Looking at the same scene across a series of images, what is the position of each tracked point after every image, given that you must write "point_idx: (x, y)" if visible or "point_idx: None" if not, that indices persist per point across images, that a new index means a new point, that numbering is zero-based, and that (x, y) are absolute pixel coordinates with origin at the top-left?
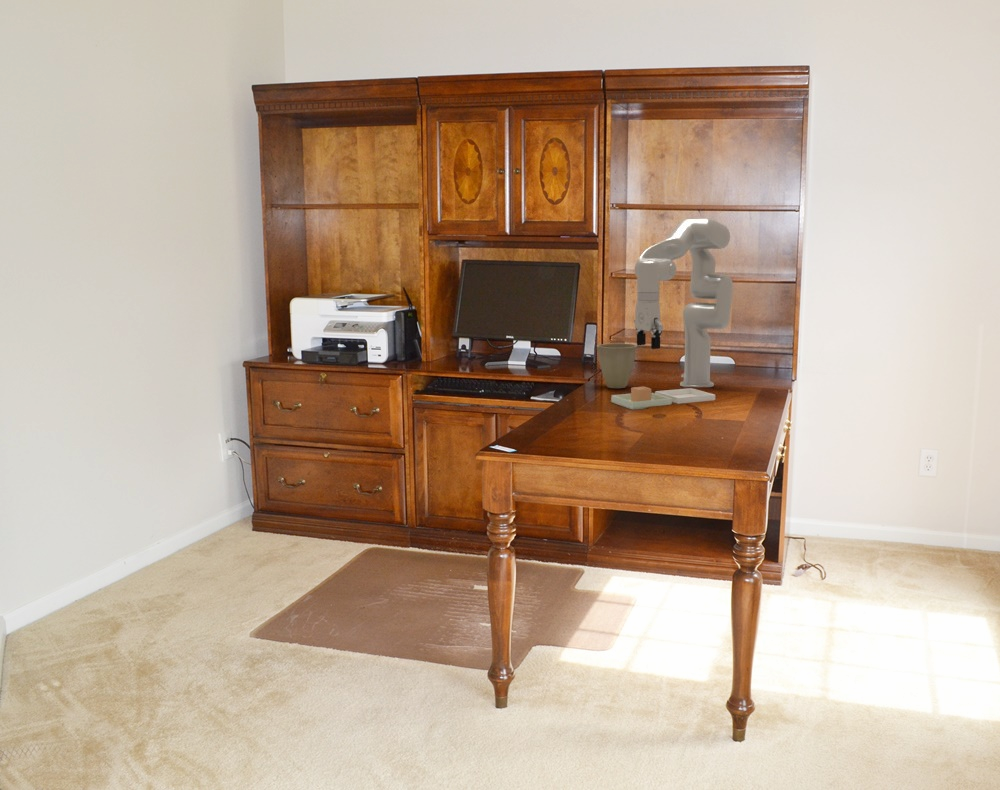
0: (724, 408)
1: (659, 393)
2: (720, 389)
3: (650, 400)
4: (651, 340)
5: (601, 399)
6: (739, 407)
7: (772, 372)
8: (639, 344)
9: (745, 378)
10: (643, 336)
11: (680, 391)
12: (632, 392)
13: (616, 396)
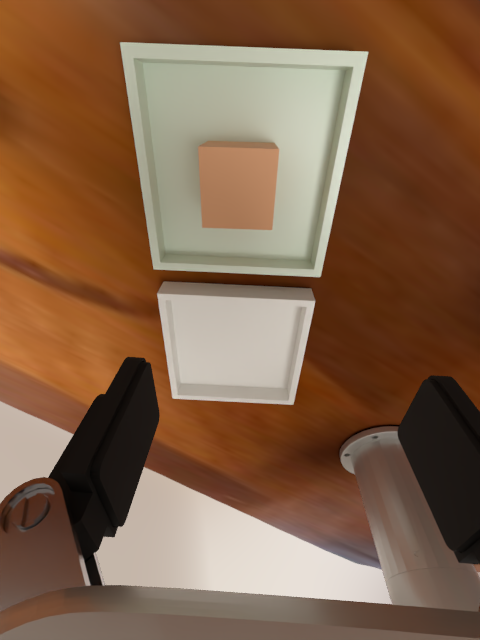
0: (82, 355)
1: (284, 298)
2: (309, 458)
3: (144, 170)
4: (100, 429)
5: (458, 54)
6: (88, 385)
7: None
8: (423, 392)
9: None
10: (445, 505)
11: (292, 371)
12: (265, 146)
13: (320, 60)
